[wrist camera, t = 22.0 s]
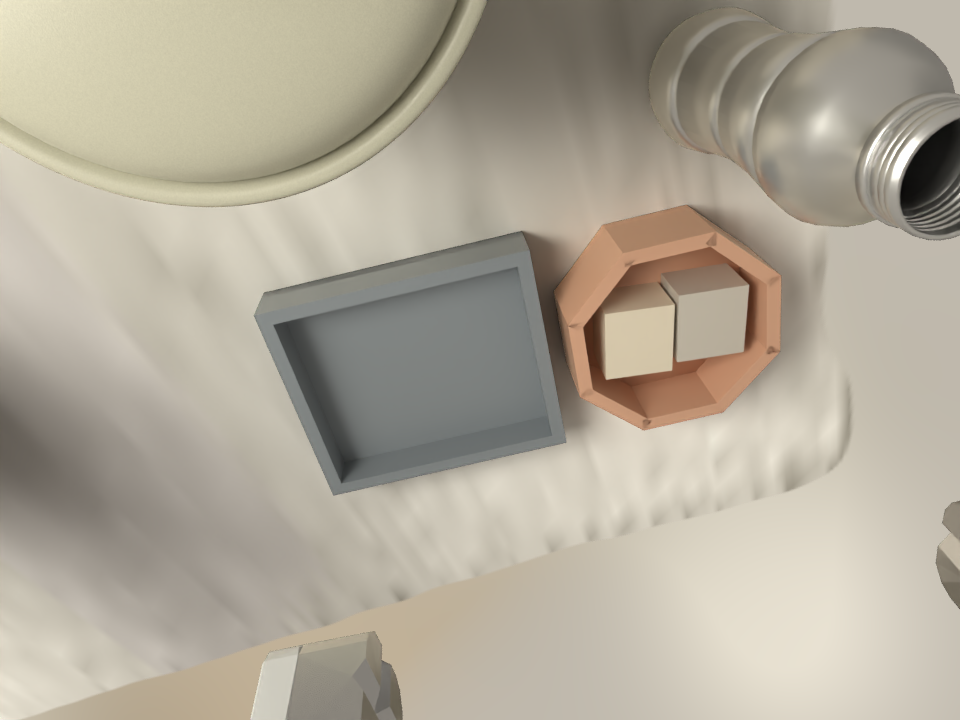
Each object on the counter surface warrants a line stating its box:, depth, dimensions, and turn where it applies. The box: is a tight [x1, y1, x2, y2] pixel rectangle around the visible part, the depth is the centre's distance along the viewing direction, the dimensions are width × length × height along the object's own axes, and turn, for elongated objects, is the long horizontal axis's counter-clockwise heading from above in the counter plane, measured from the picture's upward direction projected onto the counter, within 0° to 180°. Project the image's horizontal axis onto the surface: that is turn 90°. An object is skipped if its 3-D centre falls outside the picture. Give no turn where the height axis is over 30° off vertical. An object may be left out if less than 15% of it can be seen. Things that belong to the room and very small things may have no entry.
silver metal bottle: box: [649, 7, 960, 240], centre depth 27 cm, size 6×7×20 cm
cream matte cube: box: [661, 263, 749, 362], centre depth 41 cm, size 4×4×3 cm
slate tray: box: [254, 231, 566, 496], centre depth 42 cm, size 16×14×3 cm
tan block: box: [593, 282, 675, 380], centre depth 41 cm, size 4×4×3 cm
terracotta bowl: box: [554, 205, 781, 430], centre depth 41 cm, size 12×12×4 cm
